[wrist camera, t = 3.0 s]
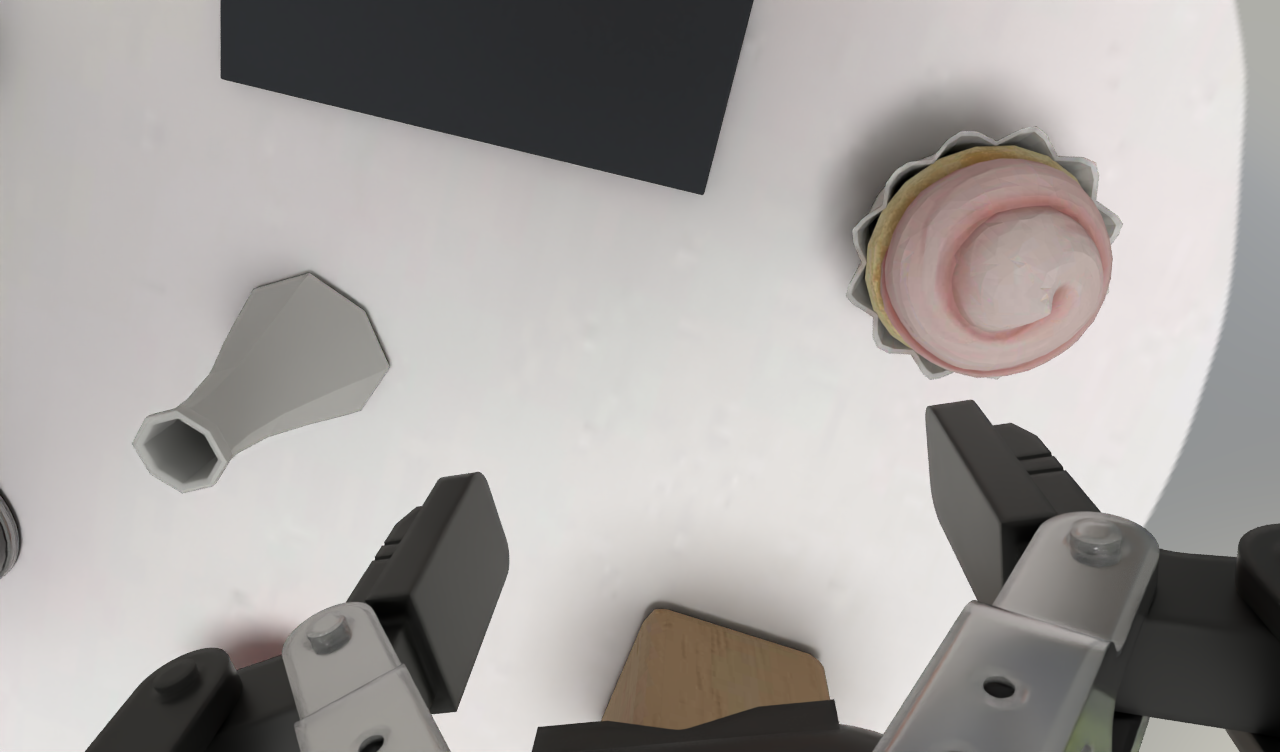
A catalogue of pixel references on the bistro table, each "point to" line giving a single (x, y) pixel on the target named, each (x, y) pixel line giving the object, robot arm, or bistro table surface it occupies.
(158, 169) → the bistro table surface
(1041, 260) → the cupcake
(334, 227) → the bistro table surface
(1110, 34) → the bistro table surface
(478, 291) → the bistro table surface
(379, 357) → the flask
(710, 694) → the wooden block
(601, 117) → the mat
